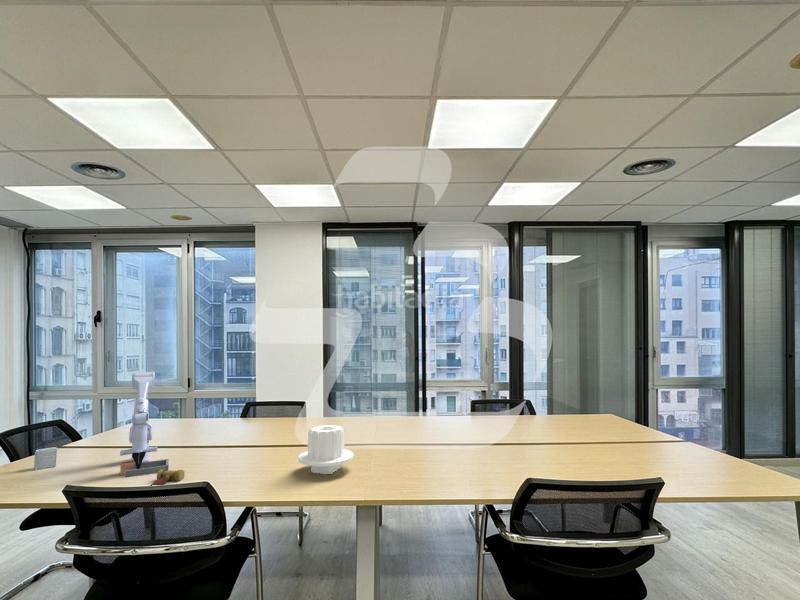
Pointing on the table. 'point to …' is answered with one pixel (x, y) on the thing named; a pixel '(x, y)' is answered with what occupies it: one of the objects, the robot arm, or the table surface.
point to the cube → (126, 466)
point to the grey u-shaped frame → (151, 468)
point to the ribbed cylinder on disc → (325, 449)
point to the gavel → (168, 476)
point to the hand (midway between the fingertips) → (138, 469)
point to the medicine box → (45, 458)
